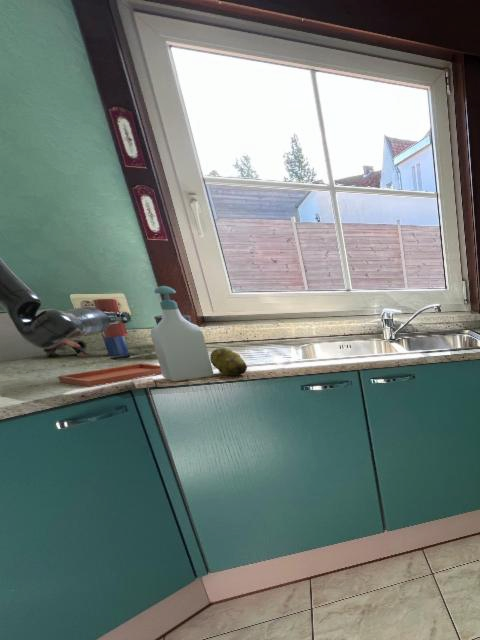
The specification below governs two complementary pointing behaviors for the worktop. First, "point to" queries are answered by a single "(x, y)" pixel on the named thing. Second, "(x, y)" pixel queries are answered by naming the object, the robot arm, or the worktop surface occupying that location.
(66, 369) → the worktop surface
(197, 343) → the soap bottle
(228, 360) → the green oval piece
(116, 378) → the tray
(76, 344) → the black and orange arch
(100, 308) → the red cup
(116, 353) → the blue cup
